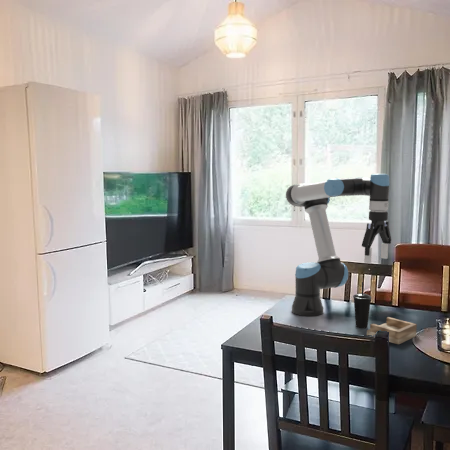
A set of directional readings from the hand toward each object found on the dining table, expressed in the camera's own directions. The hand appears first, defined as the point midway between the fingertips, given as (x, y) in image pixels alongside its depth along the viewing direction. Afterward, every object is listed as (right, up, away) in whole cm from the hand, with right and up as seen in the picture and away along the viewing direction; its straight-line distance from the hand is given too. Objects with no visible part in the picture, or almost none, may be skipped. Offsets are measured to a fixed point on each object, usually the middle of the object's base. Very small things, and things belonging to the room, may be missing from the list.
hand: (376, 260), depth 192 cm
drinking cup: (-5, -29, +4) cm, 30 cm away
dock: (+4, -30, -7) cm, 31 cm away
